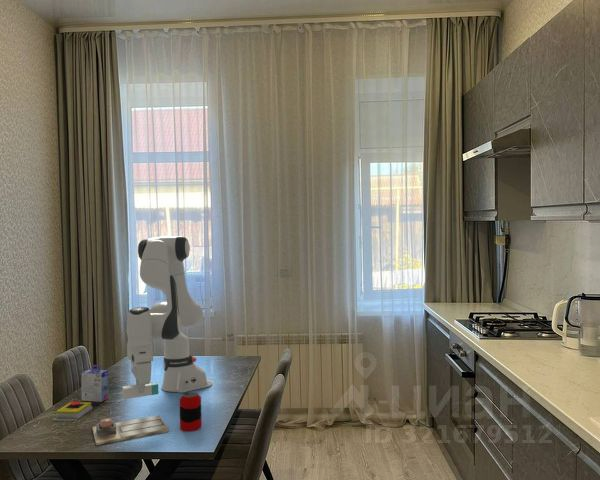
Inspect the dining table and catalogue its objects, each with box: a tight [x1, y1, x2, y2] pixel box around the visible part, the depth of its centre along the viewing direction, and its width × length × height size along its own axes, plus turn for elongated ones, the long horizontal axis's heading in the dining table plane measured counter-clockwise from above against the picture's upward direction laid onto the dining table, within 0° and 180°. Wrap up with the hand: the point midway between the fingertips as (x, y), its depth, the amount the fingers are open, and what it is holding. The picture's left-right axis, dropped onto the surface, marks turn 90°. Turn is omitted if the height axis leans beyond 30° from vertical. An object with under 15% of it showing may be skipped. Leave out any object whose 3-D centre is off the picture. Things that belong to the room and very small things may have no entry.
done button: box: [99, 418, 113, 429], centre depth 179 cm, size 4×4×3 cm
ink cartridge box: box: [81, 364, 109, 403], centre depth 218 cm, size 10×6×14 cm, turn 78°
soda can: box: [179, 391, 202, 432], centre depth 185 cm, size 8×8×12 cm
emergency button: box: [52, 401, 94, 422], centre depth 201 cm, size 9×4×15 cm
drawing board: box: [91, 415, 170, 446], centre depth 183 cm, size 24×16×3 cm, turn 117°
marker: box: [121, 381, 159, 400], centre depth 185 cm, size 4×12×4 cm, turn 117°
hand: (140, 390), depth 185 cm, fingers closed on marker, 4 cm apart
